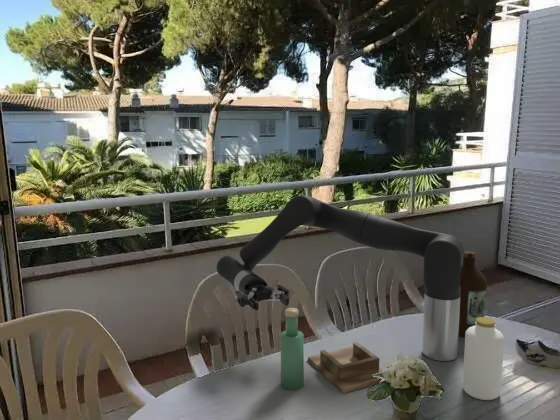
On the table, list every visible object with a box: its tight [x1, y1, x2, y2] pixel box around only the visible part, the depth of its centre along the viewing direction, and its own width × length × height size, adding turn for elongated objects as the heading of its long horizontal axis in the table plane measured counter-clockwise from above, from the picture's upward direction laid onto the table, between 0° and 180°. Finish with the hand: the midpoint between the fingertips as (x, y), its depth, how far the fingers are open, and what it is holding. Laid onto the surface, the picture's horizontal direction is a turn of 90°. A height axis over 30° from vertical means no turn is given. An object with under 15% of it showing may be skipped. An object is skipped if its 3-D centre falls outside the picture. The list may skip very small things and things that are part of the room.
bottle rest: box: [307, 342, 384, 394], centre depth 122 cm, size 18×14×4 cm
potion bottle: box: [462, 316, 505, 401], centre depth 110 cm, size 8×8×18 cm
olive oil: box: [458, 250, 488, 338], centre depth 143 cm, size 11×11×25 cm
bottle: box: [279, 307, 305, 391], centre depth 115 cm, size 6×6×19 cm
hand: (272, 304), depth 124 cm, fingers open, 8 cm apart
